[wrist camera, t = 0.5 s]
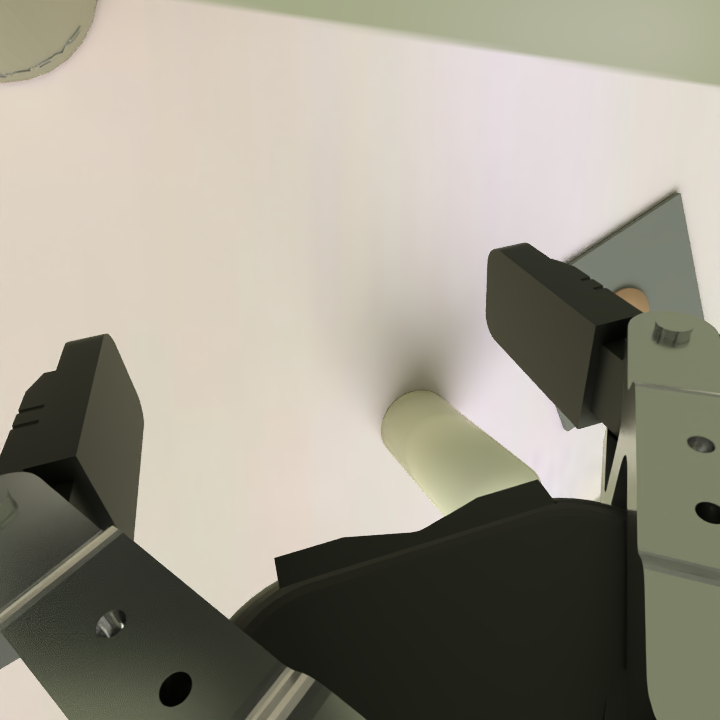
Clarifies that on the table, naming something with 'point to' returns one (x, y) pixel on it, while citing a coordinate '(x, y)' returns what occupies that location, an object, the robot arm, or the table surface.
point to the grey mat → (648, 262)
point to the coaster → (634, 298)
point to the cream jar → (448, 452)
